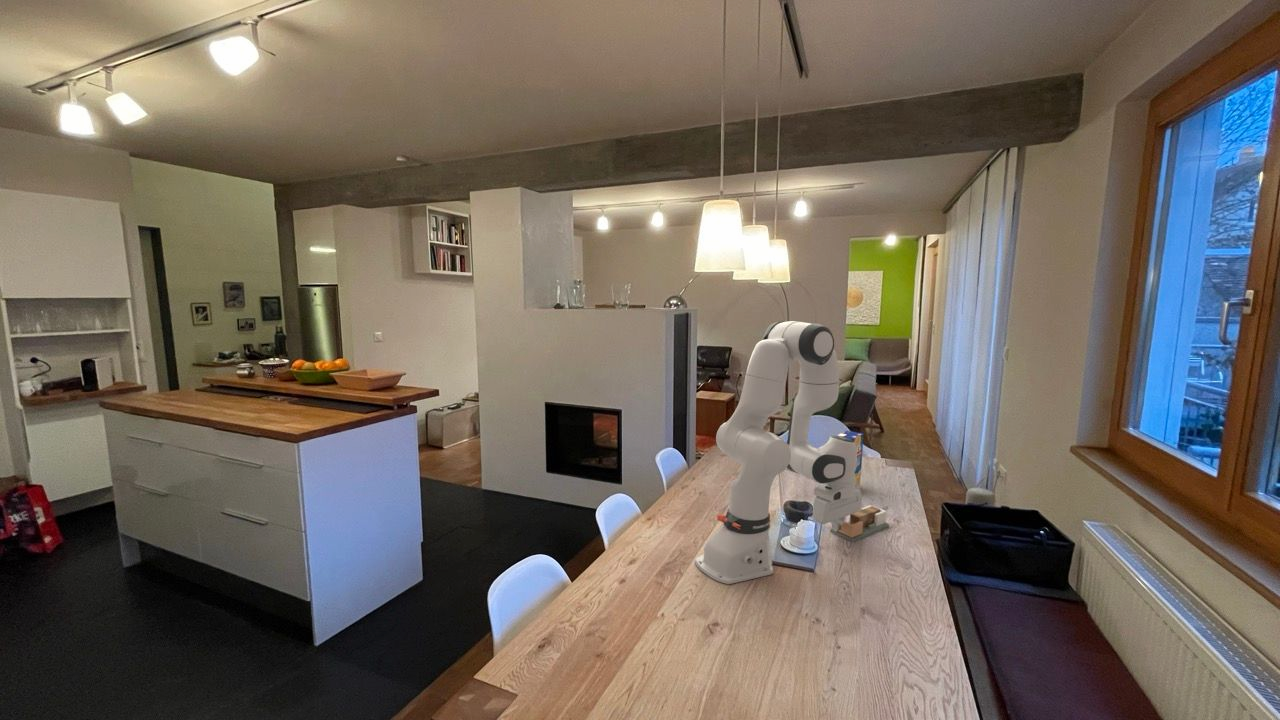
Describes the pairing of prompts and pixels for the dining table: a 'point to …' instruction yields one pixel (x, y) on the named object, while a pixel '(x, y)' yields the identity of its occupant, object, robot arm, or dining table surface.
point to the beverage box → (859, 445)
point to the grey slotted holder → (872, 528)
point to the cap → (852, 529)
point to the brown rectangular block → (864, 516)
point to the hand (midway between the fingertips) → (837, 529)
